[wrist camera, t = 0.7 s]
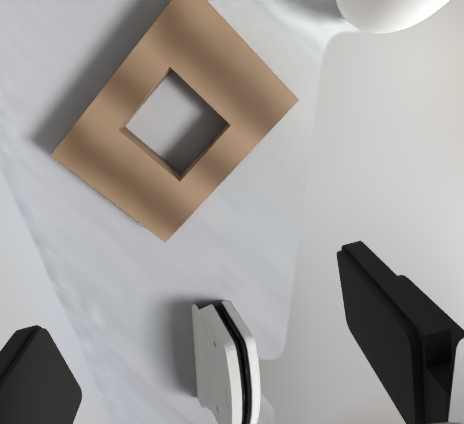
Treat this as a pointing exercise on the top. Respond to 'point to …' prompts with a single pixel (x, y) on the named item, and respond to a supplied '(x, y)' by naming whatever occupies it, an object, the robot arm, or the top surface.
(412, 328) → the robot arm
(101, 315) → the top surface
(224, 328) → the grey piece
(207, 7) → the tan flat frame
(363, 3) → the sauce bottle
